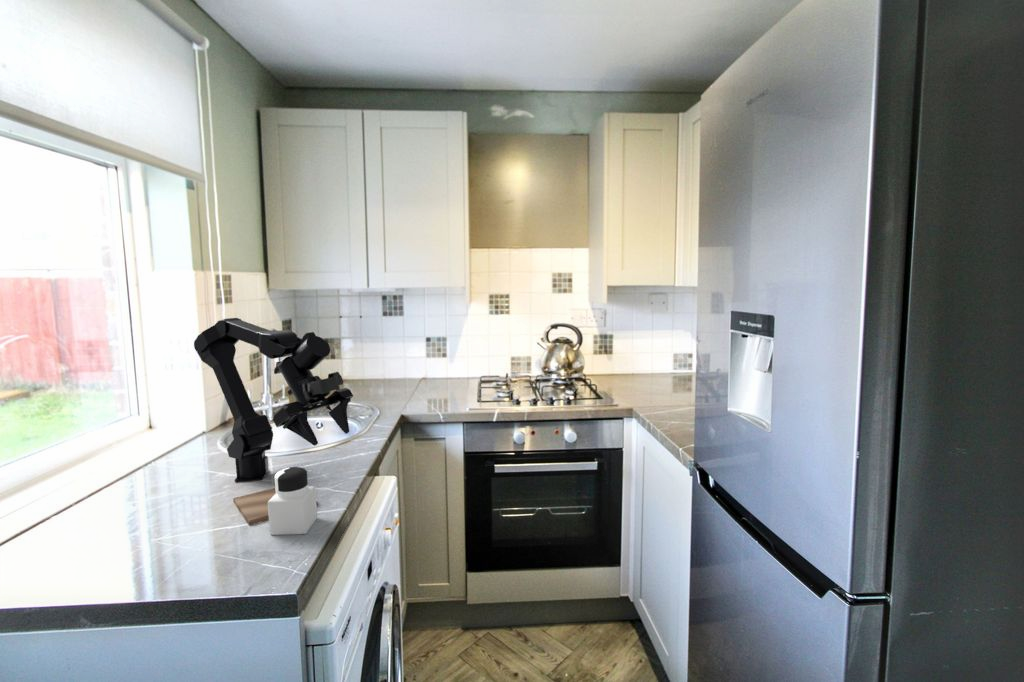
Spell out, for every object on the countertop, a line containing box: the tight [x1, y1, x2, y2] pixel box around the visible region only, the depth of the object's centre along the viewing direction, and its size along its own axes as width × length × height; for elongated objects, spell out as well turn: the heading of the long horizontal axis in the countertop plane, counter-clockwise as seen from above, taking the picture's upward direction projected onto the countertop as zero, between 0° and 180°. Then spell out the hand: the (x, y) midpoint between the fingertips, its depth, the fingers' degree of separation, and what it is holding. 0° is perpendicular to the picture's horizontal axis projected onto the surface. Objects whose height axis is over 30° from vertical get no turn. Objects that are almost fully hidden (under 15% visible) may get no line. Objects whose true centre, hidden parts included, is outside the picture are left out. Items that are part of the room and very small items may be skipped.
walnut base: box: [232, 487, 318, 526], centre depth 117 cm, size 14×14×1 cm
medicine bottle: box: [268, 466, 318, 536], centre depth 106 cm, size 7×7×12 cm
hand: (332, 438), depth 117 cm, fingers open, 9 cm apart
